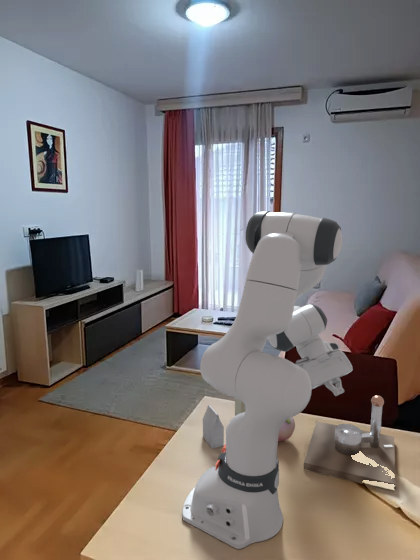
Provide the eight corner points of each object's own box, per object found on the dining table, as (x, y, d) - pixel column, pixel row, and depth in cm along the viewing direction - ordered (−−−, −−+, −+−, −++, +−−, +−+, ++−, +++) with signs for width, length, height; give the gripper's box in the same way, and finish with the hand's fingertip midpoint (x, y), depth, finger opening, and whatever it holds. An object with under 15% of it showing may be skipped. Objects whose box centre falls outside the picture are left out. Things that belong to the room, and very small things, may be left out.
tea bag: (212, 448, 117) (211, 416, 115) (202, 436, 123) (202, 405, 121) (223, 445, 118) (223, 413, 116) (214, 433, 124) (213, 403, 122)
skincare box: (241, 423, 129) (242, 388, 127) (234, 417, 133) (234, 382, 131) (257, 418, 133) (258, 383, 130) (249, 412, 136) (250, 378, 134)
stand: (303, 469, 107) (303, 462, 107) (316, 427, 127) (316, 421, 127) (395, 491, 99) (395, 484, 98) (393, 442, 119) (394, 436, 118)
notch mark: (384, 447, 113) (384, 446, 113) (383, 445, 114) (383, 444, 114) (393, 447, 113) (393, 446, 113) (391, 445, 114) (391, 444, 114)
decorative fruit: (301, 441, 120) (302, 409, 118) (283, 452, 115) (284, 419, 113) (275, 428, 127) (276, 398, 125) (258, 438, 121) (258, 407, 119)
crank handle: (341, 455, 109) (344, 405, 106) (330, 441, 116) (332, 393, 113) (386, 451, 111) (390, 401, 108) (372, 436, 118) (376, 389, 115)
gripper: (298, 357, 120) (324, 400, 114) (341, 342, 132) (366, 380, 126) (287, 366, 125) (311, 408, 119) (329, 351, 137) (353, 389, 131)
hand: (340, 394), depth 123 cm, fingers closed
